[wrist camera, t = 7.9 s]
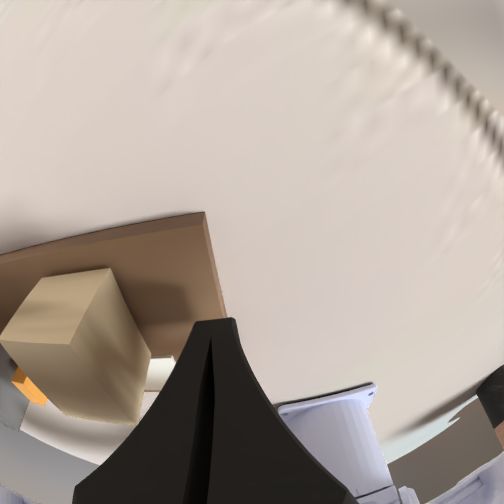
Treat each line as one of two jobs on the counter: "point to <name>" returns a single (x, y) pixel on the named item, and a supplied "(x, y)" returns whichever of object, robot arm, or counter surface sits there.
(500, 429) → the travel mug
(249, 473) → the robot arm
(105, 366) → the tan rectangular block
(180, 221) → the base
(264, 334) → the counter surface
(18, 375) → the block
